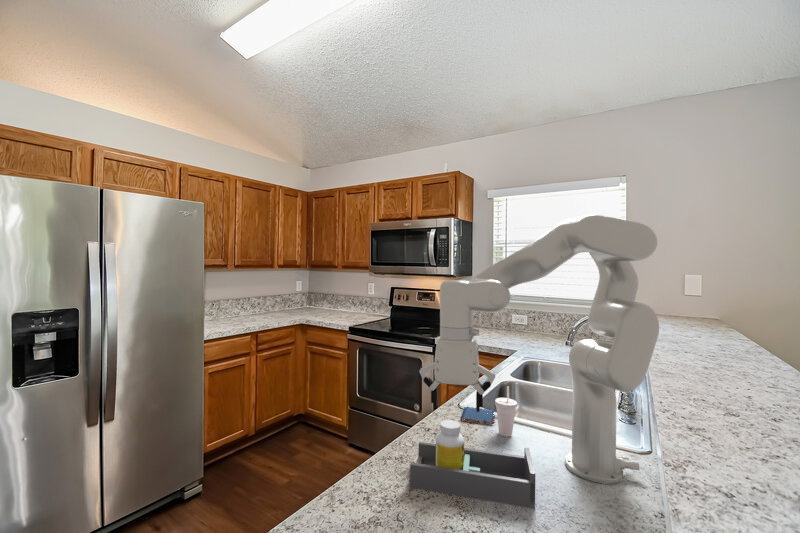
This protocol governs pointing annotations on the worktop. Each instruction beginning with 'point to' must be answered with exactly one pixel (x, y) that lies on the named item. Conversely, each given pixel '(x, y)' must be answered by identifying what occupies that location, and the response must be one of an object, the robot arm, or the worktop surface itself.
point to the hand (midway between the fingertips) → (456, 408)
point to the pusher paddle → (467, 465)
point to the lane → (478, 476)
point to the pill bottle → (450, 446)
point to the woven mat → (478, 415)
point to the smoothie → (505, 414)
